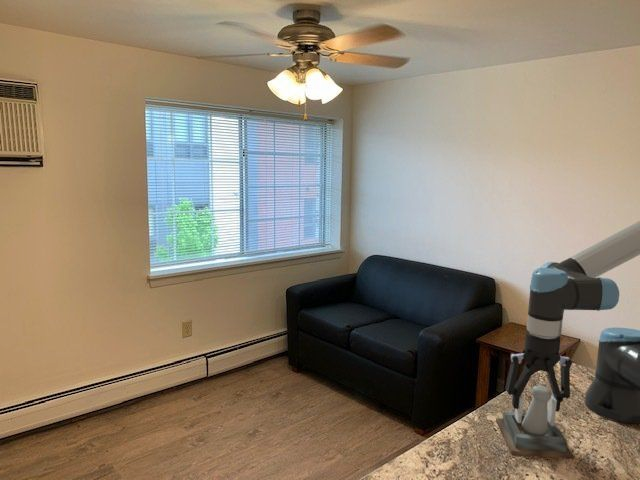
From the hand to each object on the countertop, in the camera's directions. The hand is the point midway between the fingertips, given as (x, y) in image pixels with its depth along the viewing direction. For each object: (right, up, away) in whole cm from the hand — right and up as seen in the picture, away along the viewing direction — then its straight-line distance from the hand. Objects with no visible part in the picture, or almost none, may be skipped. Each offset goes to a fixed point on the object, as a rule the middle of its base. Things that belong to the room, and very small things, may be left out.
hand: (534, 420), depth 115 cm
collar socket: (0, -5, +1) cm, 5 cm away
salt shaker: (0, -4, +1) cm, 4 cm away
